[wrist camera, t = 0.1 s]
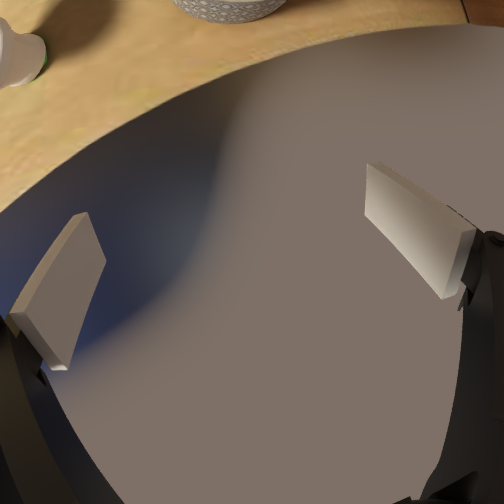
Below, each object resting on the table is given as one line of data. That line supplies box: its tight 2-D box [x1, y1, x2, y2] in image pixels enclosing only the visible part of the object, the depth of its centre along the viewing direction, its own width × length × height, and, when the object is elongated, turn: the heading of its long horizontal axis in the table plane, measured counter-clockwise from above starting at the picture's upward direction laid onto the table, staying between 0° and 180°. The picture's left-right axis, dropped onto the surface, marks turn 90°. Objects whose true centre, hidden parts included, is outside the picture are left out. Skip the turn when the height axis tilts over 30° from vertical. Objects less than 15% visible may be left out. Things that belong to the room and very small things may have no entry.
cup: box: [0, 17, 47, 90], centre depth 20 cm, size 11×11×14 cm
